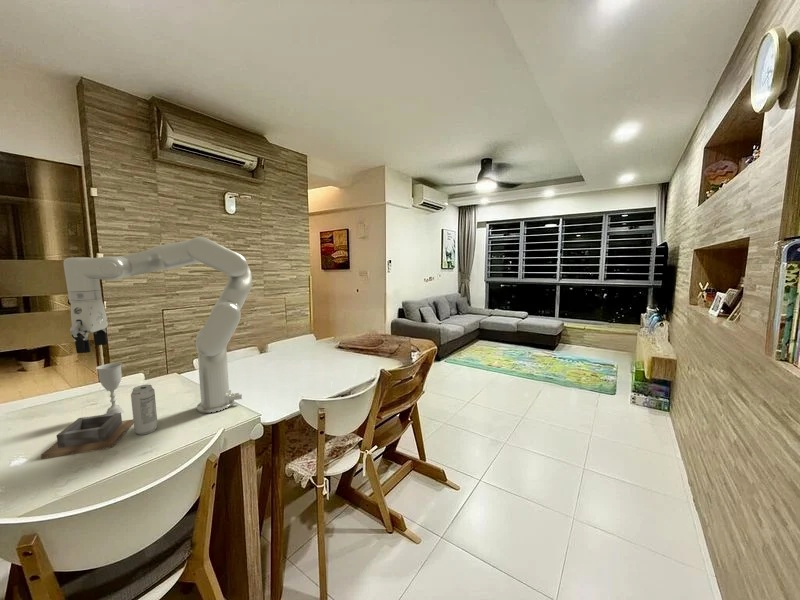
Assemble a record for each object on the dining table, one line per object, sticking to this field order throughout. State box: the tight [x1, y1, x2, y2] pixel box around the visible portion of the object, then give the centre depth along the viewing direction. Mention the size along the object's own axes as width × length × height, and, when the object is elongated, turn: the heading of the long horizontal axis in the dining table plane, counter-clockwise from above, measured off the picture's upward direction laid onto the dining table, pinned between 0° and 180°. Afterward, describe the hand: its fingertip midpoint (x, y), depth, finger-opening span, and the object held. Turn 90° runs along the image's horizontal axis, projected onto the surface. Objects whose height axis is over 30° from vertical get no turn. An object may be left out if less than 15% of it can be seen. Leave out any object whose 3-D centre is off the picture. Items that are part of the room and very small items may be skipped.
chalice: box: [95, 362, 124, 415], centre depth 116 cm, size 7×7×18 cm
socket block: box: [40, 413, 134, 459], centre depth 100 cm, size 16×16×5 cm
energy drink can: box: [130, 384, 158, 436], centre depth 104 cm, size 6×6×15 cm
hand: (93, 348), depth 104 cm, fingers open, 9 cm apart
